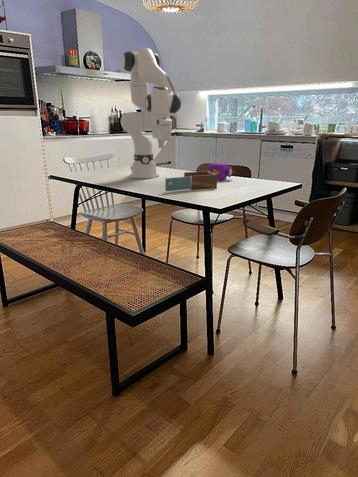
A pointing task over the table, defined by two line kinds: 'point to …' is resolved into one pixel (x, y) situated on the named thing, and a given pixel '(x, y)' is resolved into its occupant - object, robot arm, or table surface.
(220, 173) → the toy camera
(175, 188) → the side door
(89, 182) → the table surface
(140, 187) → the table surface
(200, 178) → the storage case
